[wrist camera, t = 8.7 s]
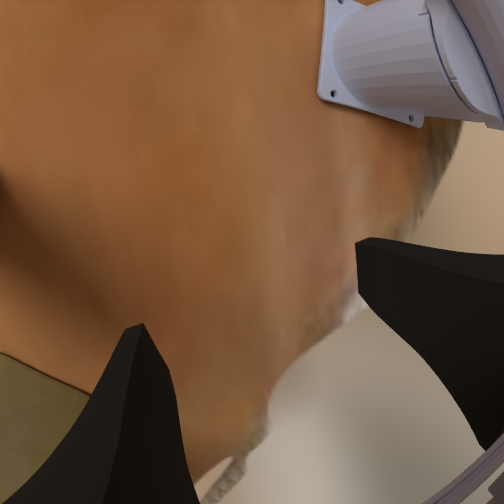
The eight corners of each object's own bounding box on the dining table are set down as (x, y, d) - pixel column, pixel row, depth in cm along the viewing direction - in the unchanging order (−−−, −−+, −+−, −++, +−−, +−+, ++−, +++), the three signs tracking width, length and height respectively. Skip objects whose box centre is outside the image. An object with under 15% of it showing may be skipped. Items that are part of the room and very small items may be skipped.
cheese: (53, 485, 24) (57, 585, 11) (-16, 457, 20) (-27, 556, 6) (100, 394, 21) (108, 573, 8) (-8, 342, 16) (-64, 513, 3)
